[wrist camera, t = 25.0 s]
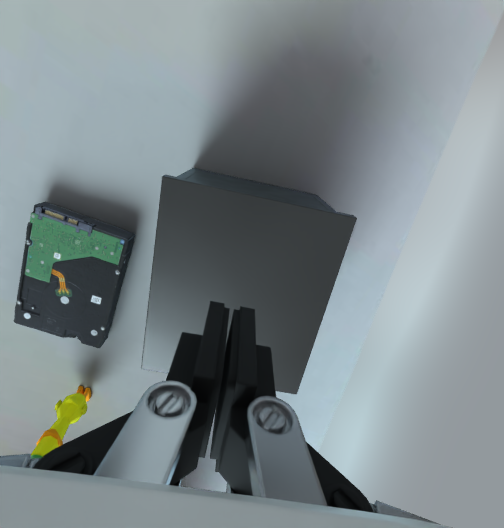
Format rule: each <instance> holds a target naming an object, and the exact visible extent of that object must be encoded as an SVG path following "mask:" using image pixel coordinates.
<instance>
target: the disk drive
mask: <svg viewBox="0 0 504 528" xmlns="http://www.w3.org/2000/svg"><path fill="white" fill-rule="evenodd" d="M26 234H27V235H26V244H25V250H24V255H23V263H22V269H21V277H20V283H19V290H18V296H17V302H16V307H15V318H14V322H15V323H17V324H20V325H24V326H27V327H30V328H34V329H38V330H41V331H44V332H47V333H50V334H53V335H56V336H59V337H63V338H64V337H73V338H75V337H76V336H77V337H78V338H77V339H79V340H80V341H81V343H83V344H86V345H89V346H93V347H96V348H100V347H101V346H102V345H103V343H104V342H105V340H106V339H107V338H108V333H109V331H110V328H111V325H112V320H113V316H114V312H115V309H116V305H117V301H118V297H119V293H120V289H121V286H122V282H123V279H124V275H125V271H126V268H127V264H128V260H129V258H130V254H131V249H132V245H133V242H134V238H135V234H134V233H131V232H128V231H126V230H123V229H121V228H118V227H115V226H113V225H110V224H107V223H104V222H101V221H98V220H96V219H93V218H90V217H87V216H84V215H82V214H79V213H76V212H73V211H70V210H67V209H65V208H62V207H59V206H56V205H53V204H50V203H47V202H43V203H39V204H36V205H34V211H33V213H31V218H30V222H29V223H28V226H27V233H26Z"/></svg>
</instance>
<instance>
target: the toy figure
mask: <svg viewBox="0 0 504 528" xmlns="http://www.w3.org/2000/svg"><path fill="white" fill-rule="evenodd" d="M90 397H91V390H90V388H86V389H85V392H84V388H83V387H82V386H79V388H78V390H77V393H76V394H72V395H69V396H67V397H66V398H65V400H64V401H63V402H62V401H61V400H59V401H58V403H57V404H56V406H55V410H57V411H56V413H57V418H58V420H57V421H56V422H55V423H54V424H53V425H52V427H51V428H50V429H49V430H46V431H45V432H44V434H43V435H42V436H41V438H40V439H39V440H38V442H37V446H36V448H35V449H34V451H33V452H32V454H31V459H34V458H42V457H43V456H44V455H45V454H47V453H49V452H50V451H52V450H53V449H55V448H57V447H59V446H61V445H63V442H62V439H63V437H64V435H65V433H66V431H67V428H68V426H69V424H72V423H75V422H77V421H78V420H79V419H80V417H81V416H82V415H84V414H85V413H86V411H87V403H86V401H89V399H90Z"/></svg>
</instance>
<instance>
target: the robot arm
mask: <svg viewBox="0 0 504 528" xmlns="http://www.w3.org/2000/svg"><path fill="white" fill-rule="evenodd" d="M224 306H225V303H220V302H214V301H210V305H209V310H208V314H207V318H206V323H205V327H204V332H203V335H198V334H192V333H187V332H182V334H181V337H180V340H179V343H178V346H177V349H176V352H175V355H174V358H173V361H172V364H171V367H170V370H169V373H168V376H167V379H166V381H162V382H159V383H156V384H154V385H153V386H151V387H149V388H148V389H147V391H146V392H145V393H144V394H143V396H142V398H141V399H140V401H139V402H138V404H137V406H136V407H135V409H134V410H133V411H132V412H130V413H128V414H126V415H124V416H122V417H119V418H117V419H115V420H113V421H111V422H109V423H107V424H105V425H103V426H101V427H99V428H97V429H95V430H92V431H90V432H88V433H86V434H84V435H82V436H80V437H78V438H76V439H74V440H72V441H70V442H67V443H65V444H63V445H61V446H59V447H57V448H55V449H53V450H52V451H50V452H49V453H47V454H45V455H44V456H43V457H42V458H34V459H31V454H22V455H8V456H0V528H451V527H448V526H444V525H441V524H438V523H435V522H433V521H430V520H427V519H425V518H422V517H419V516H417V515H414V514H411V513H409V512H406V511H403V510H401V509H398V508H395V507H393V506H390V505H387V504H385V503H382V502H379V501H376V502H375V504H371V503H369V501H368V500H367V498H366V497H365V496H364V495H363V494H362V493H361V491H360V490H358V489H357V488H356V487H355V486H354V485H353V484H352V483H351V482H350V481H349V480H348V479H346V478H345V477H344V476H343V475H342V474H341V473H340V472H339V471H338V470H337V469H335V468H334V467H333V466H332V465H331V464H330V463H329V462H328V461H327V460H325V459H324V458H323V457H322V456H321V455H320V454H319V453H318V452H317V451H316V450H315V449H314V448H312V447H311V446H310V445H309V444H308V443H307V442H306V441H305V438H304V435H303V432H302V429H301V426H300V423H299V420H298V417H297V415H296V413H295V411H294V410H293V409H292V407H291V406H290V405H289V404H287V403H286V402H284V401H283V400H281V399H279V398H276V392H275V382H274V373H273V363H272V353H271V348H270V347H268V346H262V345H256V324H255V309H253V308H247V307H242V306H240V309H239V310H237V309H234V312H233V316H232V320H231V325H230V330H229V334H228V339H227V329H228V320H229V311H230V308H226V307H224ZM226 339H227V343H226ZM215 409H216V411H215ZM214 414H215V420H214V428H213V437H212V445H211V453H210V459H216V469H215V472H219V473H220V474H221V475H222V476H223V478H224V479H225V480H226V481H227V487H226V492H218V491H210V490H203V489H195V488H187V487H180V485H181V480H182V478H184V477H185V476H186V475H188V474H189V473H191V472H192V471H193V470H195V469H196V467H197V463H198V458H199V457H203V458H205V454H206V449H207V445H208V440H209V436H210V431H211V427H212V423H213V418H214Z"/></svg>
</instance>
